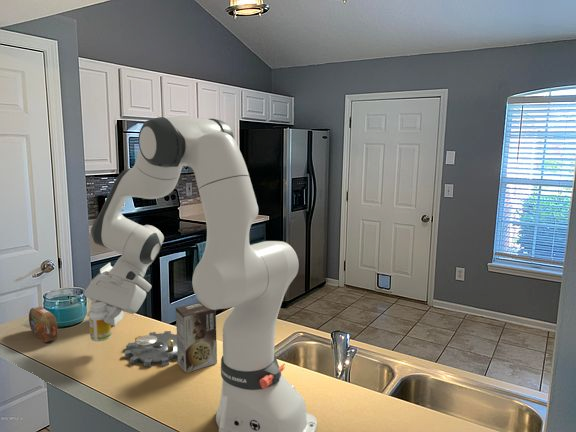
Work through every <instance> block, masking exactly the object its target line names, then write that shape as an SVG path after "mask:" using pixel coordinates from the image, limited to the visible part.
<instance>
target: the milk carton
mask: <svg viewBox="0 0 576 432" xmlns="http://www.w3.org/2000/svg"><path fill="white" fill-rule="evenodd" d="M112 268H113V266H112V265H111V262H108V263H107V264H105V265H104V266H103V267H101V268H99V273H98V274H97V275H95V276H94V277H93V278H92V279H91V280H90V281H89V284H90V283H91V282H92V281H93V280H94V279H95V278H96V277H97V276H98V275H100V274H101V273H103V272H105V271H108V272H110V271H111V269H112ZM90 301H91V302H92V300H90ZM112 308H113V307H110V306H107V309H106V310H108V311H109V312H112V311H113V310H112ZM124 315H125V314H124V311H121V313H120V314H119V315H118V316H117V317H115V318H114V319H113V320H112V321H111V327H113V326H116V325H117V324H118V323H120V321H121V320H123V318H124V317H125V316H124Z"/></svg>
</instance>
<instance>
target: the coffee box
mask: <svg viewBox="0 0 576 432" xmlns="http://www.w3.org/2000/svg"><path fill="white" fill-rule="evenodd" d="M216 311H217V309H216V310H212V309H209V308H207V307H205V306H204V305H203V304H202V303H201V302H200V301H199V302H196V303H191V304H188V305H183V306H178V307H176V308H175V321H176V323H175V325H176V334H177V352H178V360H177V364H178V365H179V366H180V367H181V369H182V370H183V371H184V372H186V374H188V373H191V372H193V371H197V370H201V369H203V368H206V367H209V366H212V365H215V364H218V350H217V349H218V348H217V346H218V344H217V312H216Z"/></svg>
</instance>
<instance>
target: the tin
mask: <svg viewBox="0 0 576 432" xmlns="http://www.w3.org/2000/svg"><path fill="white" fill-rule="evenodd" d="M28 323H29V328H30V331H31V332H32V334H33V335H34V336H35V337H36V338H38V339H40V340H41V341H42V342H44V343H48V342H52V341H54V340H56V339H57V337H58V321H57V318H56V316H55V314H54V313H52V312H51V311H49V310H48V309H46V308H44V307H43V306H37V307H32V308H30V310H29V312H28Z"/></svg>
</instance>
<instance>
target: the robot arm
mask: <svg viewBox="0 0 576 432" xmlns="http://www.w3.org/2000/svg"><path fill="white" fill-rule="evenodd" d="M138 147H139V149H138V150H137V156H136V159H135V161H134V165H133V166H132V167H131V168H125V169H124V170H122V172H121V173H119V174H118V176H117V178H116V179H115V181H114V183H113V184H112V186H111V189H110V190H109V192H108V195H107V197H106V199H105V201H104V204H103V205H102V207H101V210H100V212H99V213H98V215H97V217H96V219H95V221H94V222H93V224H92V227H91V229H90V234H91V235H90V236H91V238H92V240H93V242H94V244H96V245H98V246H101V247H103V248H106V249H109V250H111V251H113V252H115V253H117V254H119V255H121V256H120V257H119V258H118V259H117V260H116V262H115V263H114V265H113V266H112V267H113V268H112V269H111V271H110V272H108V271H105V272H103V273H101V274H100V275H98V274H97V275H98V276H97V275H96V276H97V277H96V278H95V279H94V280H93V281H92V282H91V283H90V282H89V284H88V286H87V288H86V289H84V293H83V295H84V297H85V298H86V299H88V300H90V301H91V300H92V301H91V303H90V306H89V310H88V312H87V317H89V314H90V313H91V312H92V311H91V305H92V304H94V303H98V302H104V303H106V304H107V306H110V307H113V308H112V310H113V311H112V312H110V313H109V314H108V316H107V315H105V316H104V318H103V320H102V321H103V322H105V323H107V324H110V323H111V321H112V320H113V319H114V318H115V317H117V316H118V315H119V314H120V313H121V311H124V312H125V313H127V314H131V315H134V314H136V313H137V312H138V311H139V309H140V308H141V306H142V305H143V303H144V302H145V299H146V297H147V293H148V292H150V290H151V289H152V284H150V283H149V282H148V281H147V280H146V279H145V278H144V277H145V275H146V272H147V270H148V268H149V267H150V265H152V263H153V262H154V261H155V260H156V259H157V257H158V255H159V254H160V252H161V248H162V245H163V243H164V240H165V236H164V234H163V233H162V232H161V230H160V229H159V228H157V227H155V226H154V225H150V224H145V225H142V224H139V223H138V222H135V221H133V220H132V219H129V218H127V217H126V216H124V215H123V214H122V212H121V211H122V208H123V207H124V205H125V203H126V202H127V199H128V198H138V199H139V198H141V199H146V200H155V199H157V200H158V199H161V198H163V197H166V196H168V195H169V194H171V193H172V192H173V191H174V190H175V188H176V186H177V184H178V181H179V180H180V175H181V172H182V169H183V167H190V169H192V171H193V174H194V176H195V177H194V178H195V180H196V186H197V189H198V193H199V198H200V202H201V205H202V208H203V212H204V218H205V223H206V242H205V246H204V247H205V248H204V251H203V254H202V257H201V258H200V260H199V262H198V263H197V265H196V266H195V268H194V270H193V271H194V272H193V274H192V283H191V284H192V288H193V292H194V295H195V297H196V299H197V300H198V301H199V302H201V303H202V304H203V305H204V306H205V307H207V308H209V309H212V310H216V311H217V310H224V309H230V308H231V309H232V308H233V309H232V311H231V312H230V313H229V314H228V316H227V317H226V319H225V320H224V323H223V327H222V356H221V358H220V359H221V360H220V376H221V379H222V383H221V393H220V398H219V405H218V407H217V410H216V413H215V414H216V415H215V421H216V424H217V427H218V432H316V431H317V427H318V423H317V418H316V416H314V415H313V414H311V413H309V412H307V404H306V400H305V399H304V397H303V395H301V393H299V392H298V390H296V387H295V386H294V385H293V384H291V383H290V382H289V381H288V380H287V379H286V378H285V377H284V376H283V375H282V372H283V371H284V370H285V368H286V367H285V363H282V364H281V365H280V366H279V363H278V360H277V357H276V354H275V341H276V340H275V339H276V337H275V336H276V325H277V320H278V316H279V312H280V310H281V307H282V303H283V301H284V297H285V295H286V292H287V291H288V289H289V286H290V285H291V283H293V281H294V279H295V278H296V277H297V275H298V272H299V268H300V267H299V266H300V264H299V258H298V255H297V253H296V250H294V248H293V247H292V246H291V245H290V244H289V243H288V242H285V241H282V240H281V241H280V240H265V241H261V242H258V243H257V242H256V243H252V244H250V231H251V230H250V229H251V227H252V225H253V223H254V222H255V220H257V217H258V216H259V205H258V203H257V197H256V194H255V191H254V188H253V184H252V181H251V177H250V173H249V171H248V167H247V164H246V161H245V159H244V157H243V154H242V152H241V150H240V148H239V145H238V143H237V141H236V140H235V137H234V132H233V130H232V128H231V127H230V125H229V124H228V123H226V122H224V121H222V120H220V119H217V118H202V117H191V116H172V117H171V116H170V117H163V116H159V117H154V118H150V119H148V120H146V121H145V122H144V123H143V124H142V126H141V127H140V130H139V133H138Z"/></svg>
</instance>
